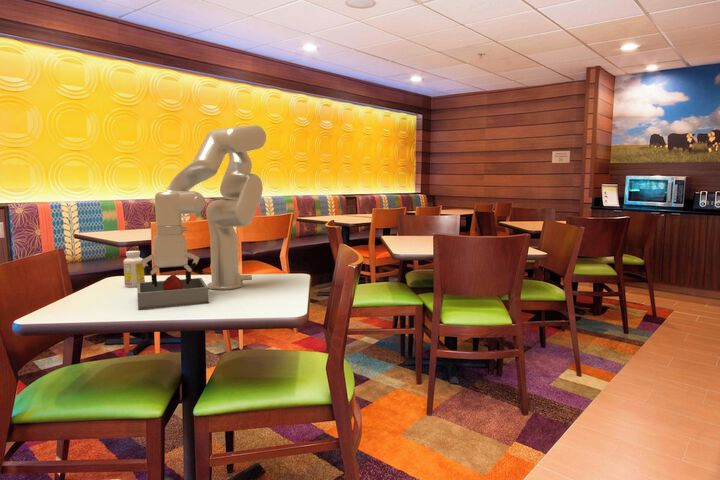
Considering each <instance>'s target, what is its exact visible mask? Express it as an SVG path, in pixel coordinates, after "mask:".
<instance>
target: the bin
mask: <svg viewBox="0 0 720 480" xmlns="http://www.w3.org/2000/svg"><path fill="white" fill-rule="evenodd" d="M179 279H180V278H179ZM180 280H181V282H182V285H183V287H182V289H178V290H166V291H164V290H163V283H164V281H165V280H157V286H156V287H155V286H154V284H152V281H145V282H141V283H137V287H136V288H137V290H136V292H137V308H138V309H137V310H138V311H143V310H153V309H155V310H156V309H164V308H173V307H182V306H184V307H185V306H193V305H194V306H195V305H204V304H205V305H206V304H210V302H209V288H208V286H207V284H206V283H205V281H204V280H203V278H202V277H196V278H195V277H194V278H191V281H189V284H186V278H184V279H183V278H181V279H180Z"/></svg>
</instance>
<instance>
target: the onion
mask: <svg viewBox="0 0 720 480" xmlns="http://www.w3.org/2000/svg"><path fill="white" fill-rule="evenodd" d="M163 281H164V283H163V290H164V291H166V290H178V289H182V287H183V285H182V282H181V280H180V278H179V277H178V276H177V274H176V273H175V272H173V273H171V275H169V276H168V277H167V278H165V280H163Z"/></svg>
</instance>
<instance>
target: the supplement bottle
mask: <svg viewBox="0 0 720 480" xmlns="http://www.w3.org/2000/svg"><path fill="white" fill-rule="evenodd" d="M140 255H141V251H140V250H128V251H127V250H126V251H125V256H126V258H124V259H123V274H124V276H123V278H124V285H125V288H137V283H141V282H146V281H145V268H144V266H143V265H142V263H141V260H143V259H144V258H142V257H140Z"/></svg>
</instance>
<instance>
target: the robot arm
mask: <svg viewBox="0 0 720 480" xmlns="http://www.w3.org/2000/svg"><path fill="white" fill-rule="evenodd" d="M266 142H267V134H266V131H265V129H263V128H262V126H260V125H258V124H252V125H244V126H243V125H239V126H231V127H227V128H215V129H211V130H210V131H208V133H207V134H206V136H205V138H204V140H203V141H202V143H201V145H200V147H199V149H198V151H197V152H196V154H195V156H194V159H193V160H192V162H191V163H189V164H188V165H187V166H186V167H184V168H183V169H182V170H181V171H179V172H178V173H177V174H176V175H175V176H174V177H173V178H172V180H171V181H170V182H169V185H168V186H167V188H166V190H165V191H161V192H160V191H159V192H157V193H156V194H155V196H154V205H155V210H154V211H155V226H156V228H155V229H156V235H154V236H153V240H152V241H153V242H152V254H150V255H149V256H147V257H145V258H142V259H143V260H141V263H142V265H143V266H144V270H146V271H147V272H148V273H149V274H150V276H151V282H152V284H154V286H155V287H156V286H157V281H158V280H157V271H158V269H161V268H163V269H165V268H177V267H179V268H180V267H183V268H184V269H186V270H185V279H186V284H189V281H191V279H192V275H191V274H192V271H193V270H194V268H196V266H197V265H198V263H199V260H200V257H199V256H197V255H195V254H192V253H191V252H189V251H188V247H187V240H186V236H185V234H183V233H184V232H187V231H188V228H187V227H186V226H183V224H182V223H183V221H182V219H183V218H182V215H197V214H199V213H201V212H202V211H204V209H205V207H206V203H207V202H206V199H205V197H204V195H202V193H200V192H198V191H194V190H193V191H192V190H191V189H193V187H195V186H196V185H198V184H200V183H202V182H204V181H207V180H209V179H211V178H213V177H214V176H215V175H216V174H218V171H219V169H220V167H221V164H222V162H223V161H224V158H226V155H228V164H227V167H226V170H225V172H224V175H223V177H222V181H221V182H220V187H219V192H220V194H221V196H222V197H223V198H224V199H215V200H212V201H211V202H210V203H208V205H207V207H206V210H205V214H206V215H205V216H206V221H207V225H208V230H209V242H210V245H209V247H210V267H211V268H210V269H211V271H210V272H211V282H209V283H207V284H206V285H207V286H208V290H209V289H210V290H218V291H219V290H220V291H223V290H233V289H239V288H242V287H243V286H244V281H252V280H253V275H252V274H241V273H240V272H239V250H238V249H239V248H238V247H239V245H238V244H239V243H238V240H239V239H238V234H237V232H236V230H235V229H234V228H235V227H236V228H240V227H241V228H244V227H247V226H249V225H250V224H252V222H253V220H254V217H255V215H256V214H257V213H256V212H257V209H258V207H259V205H260V202H261V198H262V195H263V181H262V179H261V177H260V176H258V174H255V173H252V168H253V163H252V160H251V158H250V156H249V155H248V152H251V151H256V150H259V149H261V148H263V147H264V146H265V144H266ZM188 258H189V259H192V260H193V261H192V263H190V265H188V263H189V259H188ZM151 260H152V262H153V266H152V267H151V266H150V265H148V262H150V261H151Z"/></svg>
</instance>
